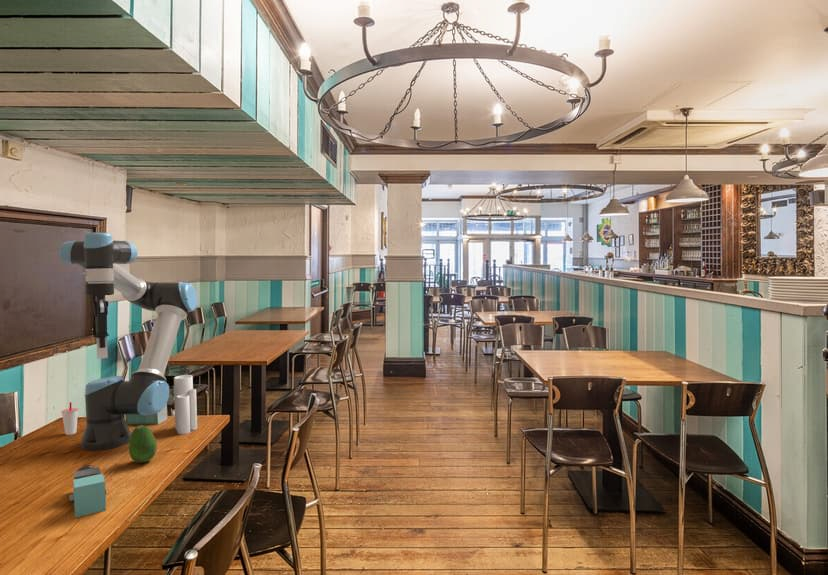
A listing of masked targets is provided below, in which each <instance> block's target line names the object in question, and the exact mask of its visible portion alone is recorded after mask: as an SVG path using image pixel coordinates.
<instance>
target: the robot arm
mask: <svg viewBox="0 0 828 575" xmlns="http://www.w3.org/2000/svg"><path fill="white" fill-rule="evenodd" d="M83 236H84V238H83V240H69V241H65V242H63V243H62V244H61V245H60V246H59V251H58V253H59V258H60V259H61V261H62V262H63V263H64V264H70V265H79V266H80V267H82V269H85V271H83V272H82V275H83V276H85V282H86V284H85V295H86V296H89V297H93V296H95V299H94V300H93V301H92V307H93V314H94V316H95V317H94V318H95V319H94V320H95V335H94V339H96V358H97V359H98V360H99V359H100V360H101V359H108V356H109V355H108V354H109V353H108V337H109V336H110V334H109V333H108V313H109V311H108V307H109V300H106V296H112V295H114V294H115V290H116V291H118V293H120V294H121V296H122V298H124V299H125V300H126V301H128V302H129V303H131V304H133V305H135V306H136V307H139V308H141V309H144V310H146V311H151V312H155V313H156V314H157V315H156V319H155V321H154V325H153V328H152V329H151V333H150V336H149V339H148V342H147V344H146V348H145V350H144V352H143V355H142V358H141V359H142V360H141V362H140V364H139V367H138V369H137V370H136V371H133V372H132V373H131V377H130V379H129V380H125V379H124V377H123V375H115V376H108V377H107V376H106V377H103V378H99V379H98V378H97V379H94V380H92V381H89V382H88V383H87V384H86V385H85V388H84V389H85V392H84V398H85V400H84V401H85V418H86V424H85V427H84V431H83V433H82V437H81V440H80V447H81V449H83V450H86V451H101V450H108V449H112V448H113V449H114V448H116V447H119V446H123V445H125V444H128V442H130V438H131V435H132V432H131V430H130V429H129V427H128V426H129V425H128V424H127V423H126V417H125V416H126V415H149V414H156V413H158V412H160V411H161V410H162V409H163V408H164V407H165V405H166V403H168V401H169V397H170V386H169V383H167V379H166V376H164V374H165V372H166V370H167V365H168V362H169V360H170V357H171V353H172V350H173V348H174V344H175V341H176V338H177V335H178V332H179V329H180V326H181V322H182V321H184V320H186V319H187V317H188V314H189V313H191V312H194V311H196V309H197V306H198V295H197V291H196V288H195V287H194V285H192V283H190V282H184V281H183V282H182V281H179V282H167V281H165V282H157V281H156V282H153V281H151V282H150V281H146V280H144V279H142V278H140V277H135V276H134V275H133V274H131V273H130V272H129V271H127V270H126V269H125V268H123V267H122V266H121V265H127V264H130V263H133V262H134V261H135V260H136V259H137V256H138V248H137V247H136V245H135V244H134V243H133V242H130V241H126V240H114V239H113V235H112V234H111V233H109V232H86V233H85V234H84V235H83ZM119 264H121V265H119Z"/></svg>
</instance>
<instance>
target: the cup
mask: <svg viewBox="0 0 828 575" xmlns="http://www.w3.org/2000/svg"><path fill="white" fill-rule="evenodd" d="M78 415H79V408H76V407H73V408H72V401H70V402H69V408H66V409H63V410H61V416H62V421H63V422H62V423H63V428H64V434H65V435H66V436H72V435H75V434H76V433H77V429H78V428H77V427H78V417H79V416H78Z"/></svg>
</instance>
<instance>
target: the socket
mask: <svg viewBox="0 0 828 575" xmlns="http://www.w3.org/2000/svg"><path fill="white" fill-rule="evenodd" d="M72 481H73V482H72V483H73V485H72V486H73V494H74V502H73V506H74V508H73V509H74V515H75V516H74V518H76V519H77V518H79V517H83V516H87V515H91V514H96V513H99V512H104V511H107V502H106V498H107V497H106V495H105V489H106V480H105V476H104V473H101V474H99V475H94V476H89V477H84V478H79V479H75V480H74V479H73V480H72Z"/></svg>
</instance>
